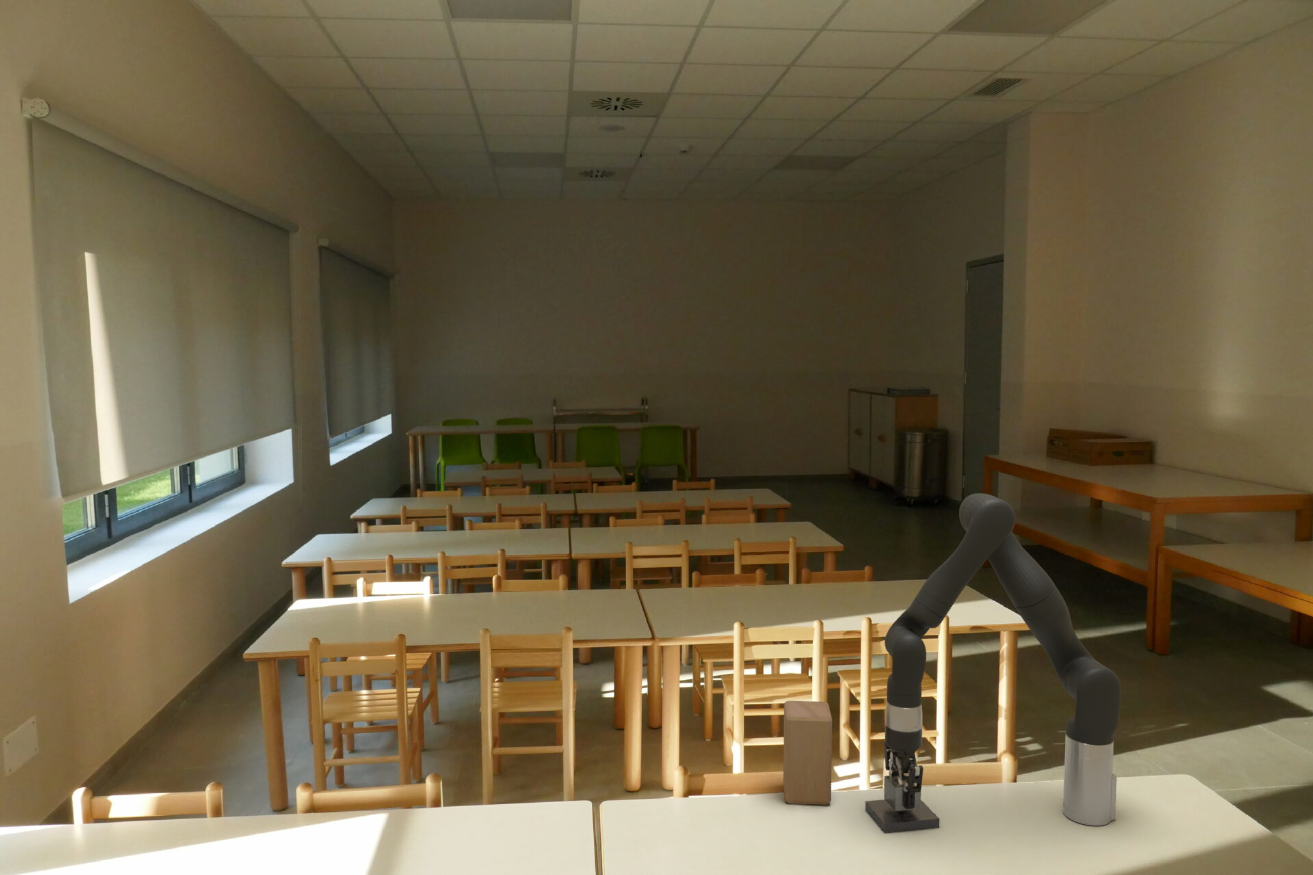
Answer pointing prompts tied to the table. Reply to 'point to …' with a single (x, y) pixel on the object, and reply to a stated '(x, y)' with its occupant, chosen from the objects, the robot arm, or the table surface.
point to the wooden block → (807, 752)
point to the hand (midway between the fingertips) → (902, 800)
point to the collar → (897, 793)
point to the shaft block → (901, 816)
